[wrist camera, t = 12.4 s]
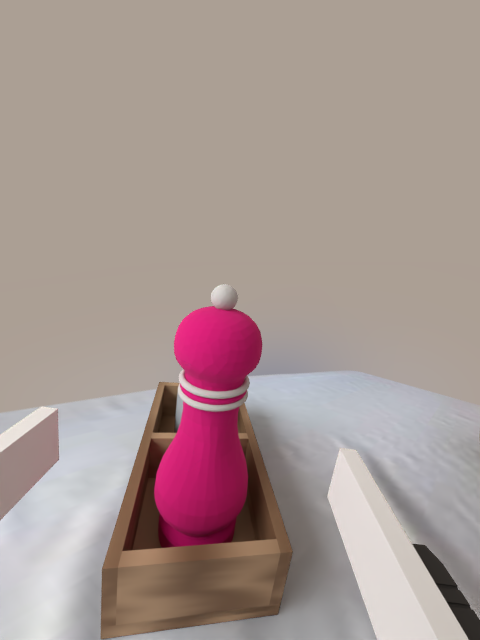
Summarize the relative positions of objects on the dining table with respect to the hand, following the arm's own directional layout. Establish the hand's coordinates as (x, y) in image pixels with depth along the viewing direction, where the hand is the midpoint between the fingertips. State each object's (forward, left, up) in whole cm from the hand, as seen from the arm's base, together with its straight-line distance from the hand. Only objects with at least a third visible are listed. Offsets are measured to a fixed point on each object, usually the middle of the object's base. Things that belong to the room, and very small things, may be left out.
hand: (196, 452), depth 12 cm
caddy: (-1, -12, -14) cm, 18 cm away
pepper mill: (-1, -6, -13) cm, 14 cm away
